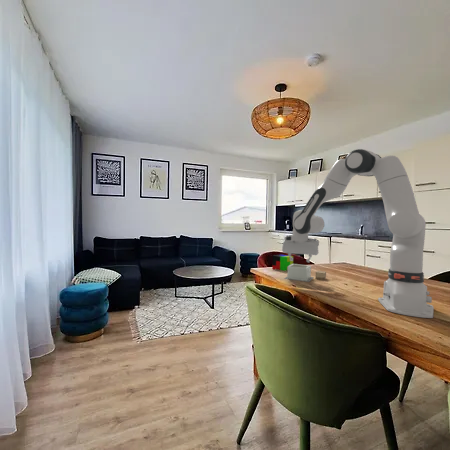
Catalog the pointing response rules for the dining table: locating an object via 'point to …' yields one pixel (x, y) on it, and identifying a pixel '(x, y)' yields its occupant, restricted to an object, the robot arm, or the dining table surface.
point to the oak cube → (320, 275)
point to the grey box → (299, 272)
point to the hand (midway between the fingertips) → (299, 261)
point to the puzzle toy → (281, 262)
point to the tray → (302, 280)
